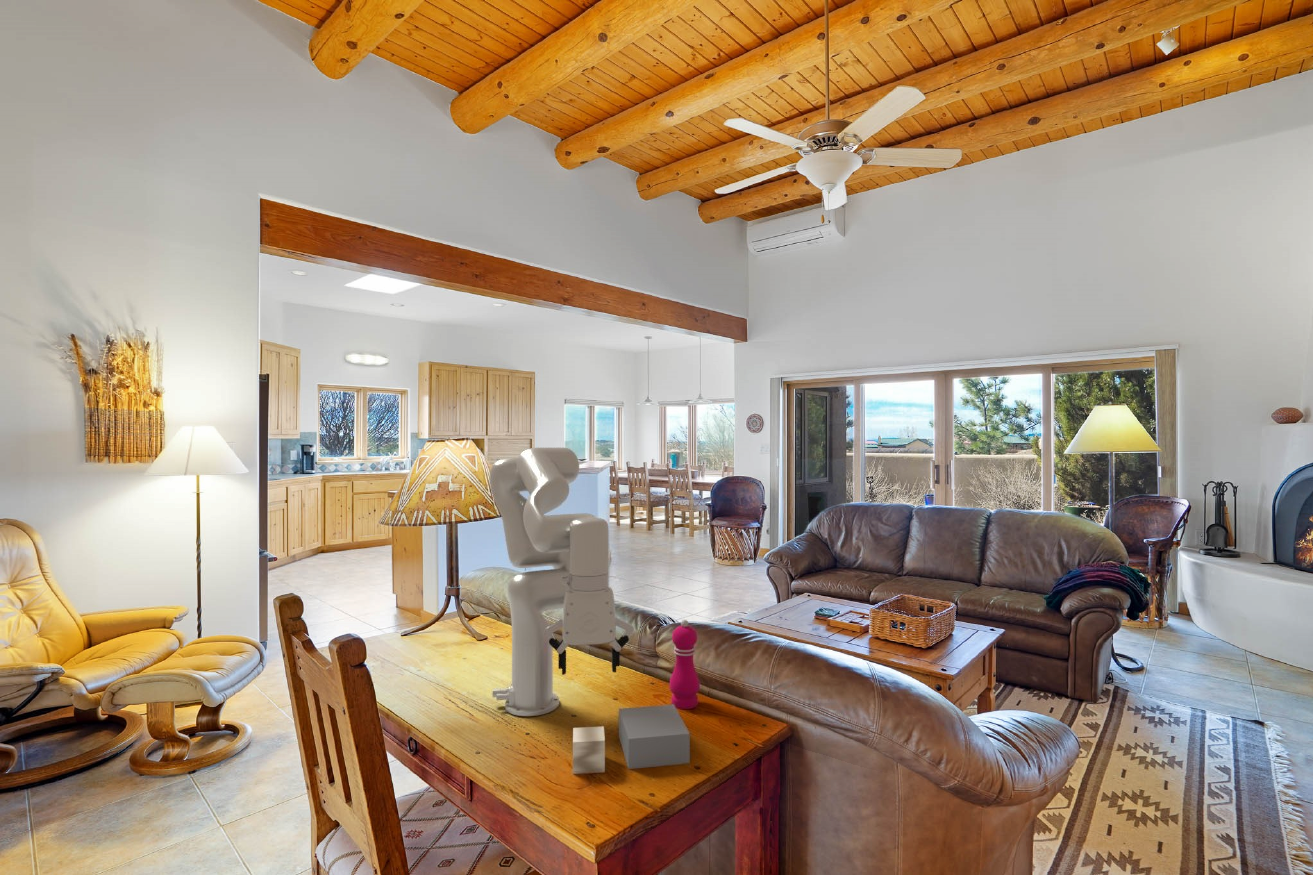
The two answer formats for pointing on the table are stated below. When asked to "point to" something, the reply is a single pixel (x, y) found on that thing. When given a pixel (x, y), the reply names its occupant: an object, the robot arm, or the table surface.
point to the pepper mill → (684, 668)
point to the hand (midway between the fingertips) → (589, 671)
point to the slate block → (653, 736)
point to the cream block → (588, 750)
